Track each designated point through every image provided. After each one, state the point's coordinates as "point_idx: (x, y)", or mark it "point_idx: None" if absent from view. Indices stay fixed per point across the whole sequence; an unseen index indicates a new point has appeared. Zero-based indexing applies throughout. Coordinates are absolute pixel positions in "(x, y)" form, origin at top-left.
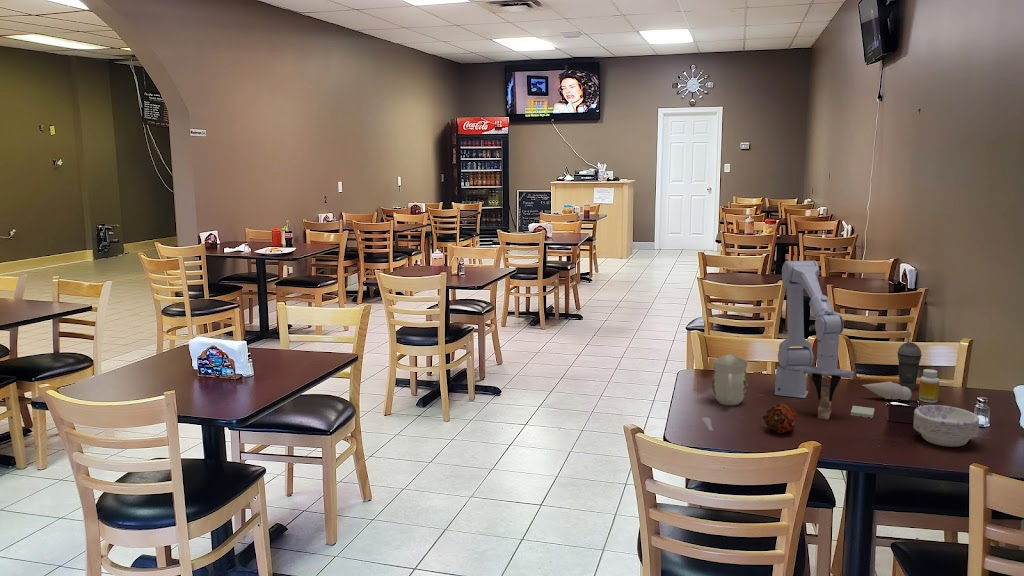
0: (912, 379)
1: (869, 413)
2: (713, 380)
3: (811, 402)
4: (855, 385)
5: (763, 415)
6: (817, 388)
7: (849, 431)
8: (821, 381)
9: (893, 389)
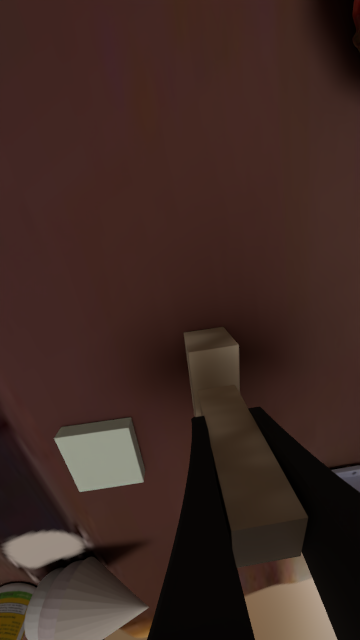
0: None
1: (69, 444)
2: None
3: None
4: None
5: None
6: (326, 476)
7: (58, 209)
8: (328, 603)
9: (57, 618)
